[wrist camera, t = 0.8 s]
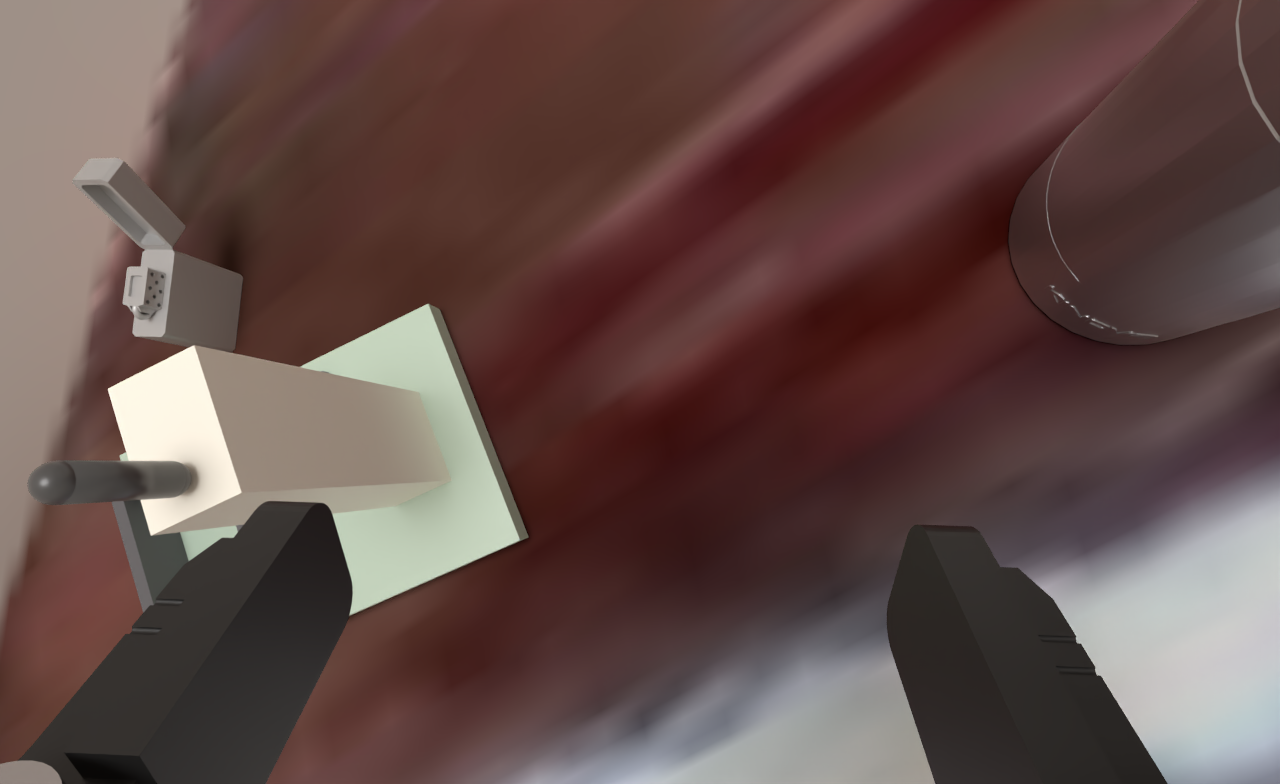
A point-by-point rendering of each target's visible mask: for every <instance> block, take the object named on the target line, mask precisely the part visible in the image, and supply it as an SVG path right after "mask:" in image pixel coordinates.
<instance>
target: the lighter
mask: <svg viewBox="0 0 1280 784" xmlns="http://www.w3.org/2000/svg"><path fill="white" fill-rule="evenodd" d="M73 184H74V185H75V186H76V187H77V188H78V189H80V191H81V192H83V193H84V194H85V195H86V196H87V197H88V198H89V199H90V200H91V201H92V202H93V203H94V204H95V205H96V206H97V207H98V208H99V209H101V210H102V211H103V212H104V213H105V214H106V215H107V216H108V217H109V218H110V219H111V220H112V221H113V222H114V223H115V224H116V225H117V226H118V227H120V228H121V229H122V230H123V231H124V232H125V233H126V234H127V235H128V236H129V237H130V238H131V239H132V240H133V241H134V242H135V243H136V244H138V245H139V246H140V247H141V248H144V249H146V250H145V251H144V252H143V253H142V261H141V267H128V268H127V274H126V282H125V290H124V298H123V304H124V305H127V306H128V307H129V309H130V310H131V312H133V314H134V316H135V317H134V324H133V332H132V333H133V334H134V335H135V336H136V337H141V338H146V339H151V340H156V341H161V342H166V343H171V344H176V345H180V346H185V347H191V346H193V345H196V346H201V347H206V348H210V349H215V350H220V351H225V352H232V351H233V350H234V349H235V345H236V336H237V327H238V319H239V310H240V301H241V292H242V283H243V277H242V276H241V274H238V273H235V272H233V271H230V270H227V269H225V268H222V267H219V266H216V265H214V264H211V263H208V262H205V261H203V260H200V259H197V258H195V257H192V256H189V255H186V254H184V253H181V252H178V251H175V250H173V247H174V245H175V244H176V242H177V241H178V239H179V238H180V236H181V234H182V233H183V231H184V230H185V227H186V226H185V225H184V224H183V223H182V222H181V221H180V220H179V219H178V218H177V217H176V216H175V214H174V213H173V212H172V211H171V210H170V209H169V208H168V207H167V206H166V205H165V204H164V203H163V202H162V201H161V200H160V199H159V198H158V196H157V195H156V194H155V193H154V192H153V191H152V190H151V189H150V188H149V187H148V186H147V185H146V184H145V183H144V182H143V181H142V180H141V178H140V177H139V176H138V175H137V174H136V173H135V172H134V171H133V170H132V169H131V168H130V167H129V166H128V165H127V164H126V163H125V162H124V161H123V160H121V159H119V158H94V159H89V160H88V161H87V163H86V164H85V165H84V166H83V168H82V169H81V170H80V171H79V173H78V174H77V175H76V176H75V178H74V179H73Z"/></svg>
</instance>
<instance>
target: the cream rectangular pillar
mask: <svg viewBox="0 0 1280 784" xmlns="http://www.w3.org/2000/svg"><path fill="white" fill-rule="evenodd" d="M108 392H109V395H110V399H111V402H112V405H113V409H114V412H115V415H116V419H117V422H118V426H119V429H120V432H121V436H122V439H123V443H124V446H125V449H126V453H127V456H128V460H129V461H51V462H47V463H44V464H42V465H41V466H39V467H37V468H36V469H35V470H34V471H33V472H32V473H31V475H30V477H29V479H28V490H29V493H30V494H31V496H32V497H33V498H34V499H36V500H37V501H39V502H41V503H44V504H48V505H65V504H81V503H98V502H114V501H131V500H141V504H142V507H143V511H144V514H145V517H146V521H147V524H148V528H149V531H150V534H151V536H153V535H161V534H169V533H177V532H186V531H194V530H202V529H211V528H219V527H227V526H236V525H244V524H245V522H246V521H247V520H248V519H249V517H250V516H251V515H252V514H253V512H254V511H255V510H256V509H257V508H258V507H259V506H260V505H261V504H262V503H264V502H267V501H288V502H317V503H324V504H326V505H327V506H328V507H329V508H330V510H331V512H332V514H335V513H343V512H352V511H360V510H368V509H377V508H385V507H393V506H397V505H399V504H402V503H404V502H406V501H408V500H410V499H412V498H415V497H417V496H419V495H421V494H423V493H426V492H428V491H430V490H432V489H434V488H437V487H439V486H441V485H443V484H445V483H448V482H450V481H452V480H451V477H450V474H449V472H448V469H447V466H446V464H445V461H444V458H443V456H442V453H441V450H440V448H439V445H438V442H437V440H436V437H435V434H434V432H433V429H432V426H431V424H430V421H429V418H428V416H427V413H426V411H425V408H424V405H423V403H422V400H421V397H420V395H419V392H416V391H411V390H406V389H401V388H396V387H392V386H387V385H382V384H377V383H373V382H368V381H363V380H358V379H354V378H349V377H344V376H339V375H334V374H330V373H325V372H320V371H315V370H311V369H306V368H301V367H296V366H292V365H287V364H282V363H277V362H272V361H268V360H263V359H258V358H253V357H249V356H244V355H239V354H234V353H229V352H225V351H220V350H215V349H210V348H206V347H201V346H196V345H193V346H191V347H189V348H187V349H186V350H184V351H182V352H180V353H178V354H176V355H174V356H172V357H170V358H168V359H166V360H164V361H162V362H160V363H158V364H156V365H154V366H152V367H150V368H148V369H146V370H144V371H142V372H140V373H138V374H136V375H134V376H132V377H130V378H128V379H126V380H124V381H122V382H120V383H118V384H116V385H114V386H113V387H111V388H109V389H108Z"/></svg>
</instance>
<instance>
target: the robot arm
mask: <svg viewBox="0 0 1280 784" xmlns="http://www.w3.org/2000/svg"><path fill="white" fill-rule="evenodd" d="M1008 242H1009V249H1010V255H1011V261H1012V265H1013V267H1014V270H1015V272H1016V275H1017V277H1018V279H1019V282H1020V284H1021V286H1022V287H1023V288H1024V290H1025V291H1026V293H1027V294H1028V296H1029V297H1030V298H1031V300H1032V301H1033V303H1034V304H1035V305H1036V306H1037V307H1039V308H1040V309H1041V310H1042V311H1043V312H1044V313H1045V314H1046V315H1047V316H1048V317H1049V318H1050V319H1052V320H1053V321H1055V322H1057V323H1058V324H1060V325H1061V326H1063V327H1065V328H1066V329H1068V330H1070V331H1071V332H1073V333H1076V334H1079V335H1082V336H1084V337H1087V338H1090V339H1092V340H1095V341H1100V342H1106V343H1112V344H1118V345H1147V344H1152V343H1157V342H1161V341H1166V340H1171V339H1175V338H1178V337H1181V336H1185V335H1188V334H1192V333H1195V332H1198V331H1202V330H1205V329H1208V328H1212V327H1215V326H1219V325H1222V324H1225V323H1229V322H1233V321H1237V320H1240V319H1244V318H1247V317H1250V316H1254V315H1257V314H1260V313H1264V312H1267V311H1271V310H1274V309H1277V308H1280V0H1199V1H1198V2H1197V3H1196V4H1195V5H1194V6H1193V7H1192V8H1191V9H1190V10H1189V11H1188V12H1187V13H1186V14H1185V15H1184V17H1183V18H1182V19H1181V20H1180V21H1179V22H1178V23H1177V24H1176V25H1175V26H1174V27H1173V28H1172V29H1171V30H1170V31H1169V32H1168V33H1167V34H1166V35H1165V36H1164V37H1163V38H1162V39H1161V41H1160V42H1159V43H1158V44H1157V45H1156V46H1155V47H1154V48H1153V49H1152V50H1151V51H1150V52H1149V53H1148V54H1147V55H1146V56H1145V57H1144V58H1143V59H1142V60H1141V61H1140V62H1139V63H1138V65H1137V66H1136V67H1135V68H1134V69H1133V70H1132V71H1131V72H1130V73H1129V74H1128V75H1127V76H1126V77H1125V78H1124V79H1123V80H1122V81H1121V82H1120V83H1119V84H1118V85H1117V86H1116V87H1115V88H1114V90H1113V91H1112V92H1111V93H1110V94H1109V95H1108V96H1107V97H1106V98H1105V99H1104V100H1103V101H1102V102H1101V103H1100V104H1099V105H1098V106H1097V107H1096V108H1095V109H1094V110H1093V111H1092V112H1091V114H1090V115H1089V116H1088V117H1087V118H1086V119H1085V120H1084V121H1083V122H1082V123H1081V124H1079V125H1078V126H1077V127H1076V129H1075V130H1074V131H1073V132H1072V133H1071V134H1070V135H1069V136H1068V137H1067V138H1066V139H1065V140H1064V141H1063V142H1062V143H1061V144H1060V146H1059V147H1058V148H1057V149H1056V150H1055V151H1054V152H1053V153H1052V154H1051V155H1050V156H1049V157H1048V158H1047V159H1046V160H1045V162H1044V163H1043V164H1042V165H1041V166H1040V167H1039V168H1038V169H1037V170H1036V171H1035V172H1034V173H1033V174H1032V175H1031V177H1030V178H1029V179H1028V180H1027V182H1026V183H1025V185H1024V187H1023V189H1022V190H1021V192H1020V194H1019V195H1018V197H1017V199H1016V202H1015V205H1014V208H1013V212H1012V215H1011V218H1010V226H1009V239H1008ZM352 597H353V586H352V580H351V576H350V572H349V569H348V566H347V562H346V559H345V555H344V552H343V549H342V545H341V542H340V538H339V535H338V532H337V528H336V525H335V521H334V518H333V515H332V512H331V510H330V508H329V507H328V506H327V505H326V504H324V503H317V502H288V501H267V502H264V503H262V504H261V505H260V506H259V507H258V508H257V509H256V510H255V511H254V512H253V514H252V515H251V516H250V517H249V519H248V520H247V521H246V522H245V524H244V525H243V526H242V527H241V529H240V530H239V531H238V533H237V534H236V535H235V536H234V538H221V539H219V540H218V541H217V542H215V543H214V544H212V545H211V546H210V547H208V548H207V549H205V550H204V551H203V552H201V553H200V554H198V555H197V556H196V557H194V558H193V559H191V560H190V561H189V562H187V563H186V564H184V565H183V566H182V567H181V569H180V570H179V571H178V572H177V573H176V575H175V576H174V577H173V578H172V579H171V581H170V582H169V583H168V584H167V585H166V587H165V588H164V589H163V590H162V591H161V592H160V594H159V595H158V596H157V597H156V602H155V604H154V605H150V606H149V607H148V608H147V609H146V610H145V612H144V613H143V614H142V615H141V616H140V618H139V619H138V620H137V621H136V622H135V623H134V625H133V626H132V632H131V633H130V634H125V635H124V637H123V638H122V639H121V640H120V641H119V643H118V644H117V645H116V646H115V647H114V649H113V650H112V651H111V652H110V653H109V654H108V656H107V657H106V658H105V659H104V660H103V662H102V663H101V664H100V665H99V666H98V668H97V669H96V670H95V671H94V672H93V674H92V675H91V676H90V677H89V678H88V679H87V681H86V682H85V683H84V684H83V685H82V687H81V688H80V689H79V690H78V691H77V693H76V694H75V695H74V696H73V697H72V699H71V700H70V701H69V702H68V703H67V705H66V706H65V707H64V708H63V709H62V710H61V712H60V713H59V714H58V715H57V716H56V718H55V719H54V720H53V721H52V722H51V724H50V725H49V726H48V727H47V728H46V730H45V731H44V732H43V733H42V734H41V736H40V737H39V738H38V739H37V740H36V741H35V743H34V744H33V745H32V746H31V747H30V748H29V749H28V750H27V752H26V753H25V754H24V755H23V756H22V757H21V758H20V759H19V760H18V761H14V762H7V763H3V764H0V784H265V783H266V781H267V780H268V778H269V776H270V774H271V772H272V770H273V768H274V766H275V764H276V762H277V760H278V758H279V756H280V754H281V752H282V750H283V748H284V746H285V744H286V742H287V740H288V738H289V736H290V734H291V732H292V730H293V728H294V726H295V724H296V722H297V720H298V718H299V716H300V714H301V712H302V711H303V709H304V707H305V705H306V703H307V701H308V699H309V697H310V695H311V693H312V691H313V689H314V687H315V685H316V683H317V681H318V679H319V677H320V675H321V673H322V671H323V669H324V667H325V665H326V663H327V661H328V659H329V657H330V655H331V653H332V651H333V649H334V647H335V645H336V643H337V642H338V640H339V638H340V636H341V634H342V632H343V630H344V628H345V625H346V623H347V621H348V618H349V614H350V610H351V605H352ZM887 630H888V638H889V643H890V647H891V651H892V654H893V657H894V660H895V663H896V666H897V669H898V672H899V675H900V678H901V681H902V684H903V687H904V690H905V693H906V696H907V699H908V702H909V705H910V708H911V711H912V714H913V717H914V720H915V723H916V726H917V729H918V732H919V735H920V738H921V741H922V745H923V748H924V751H925V754H926V757H927V760H928V763H929V766H930V769H931V772H932V775H933V778H934V781H935V784H1167V782H1166V780H1165V779H1164V777H1163V776H1162V774H1161V772H1160V771H1159V769H1158V767H1157V766H1156V764H1155V763H1154V761H1153V759H1152V758H1151V756H1150V755H1149V753H1148V751H1147V750H1146V748H1145V747H1144V745H1143V743H1142V742H1141V740H1140V738H1139V737H1138V735H1137V734H1136V732H1135V730H1134V729H1133V727H1132V726H1131V724H1130V722H1129V721H1128V719H1127V718H1126V716H1125V714H1124V713H1123V711H1122V710H1121V708H1120V706H1119V705H1118V703H1117V701H1116V700H1115V698H1114V697H1113V695H1112V693H1111V692H1110V690H1109V689H1108V687H1107V685H1106V684H1105V682H1104V681H1103V679H1102V677H1101V676H1097V675H1096V673H1095V666H1094V664H1093V663H1092V661H1091V660H1090V658H1089V656H1088V655H1087V653H1086V652H1085V650H1084V648H1083V647H1082V645H1081V644H1077V642H1076V635H1075V634H1074V632H1073V631H1072V629H1071V627H1070V626H1069V624H1068V623H1067V621H1066V619H1065V618H1064V616H1063V614H1062V613H1061V611H1060V610H1059V608H1058V606H1057V605H1056V603H1055V602H1054V600H1053V599H1052V598H1051V597H1050V596H1049V595H1048V594H1046V593H1045V592H1044V591H1043V590H1042V589H1041V588H1040V587H1039V586H1037V585H1036V584H1035V583H1034V582H1033V581H1032V580H1031V579H1030V578H1028V577H1027V576H1026V575H1025V574H1024V573H1023V572H1022V571H1021V570H1020V569H1018V568H1004V567H999V565H998V563H997V561H996V559H995V558H994V556H993V554H992V552H991V551H990V549H989V547H988V545H987V543H986V542H985V540H984V538H983V537H982V535H981V533H980V532H979V531H978V530H977V529H975V528H974V527H967V526H937V525H914V526H913V527H912V528H911V529H910V531H909V533H908V536H907V539H906V542H905V546H904V549H903V553H902V556H901V560H900V563H899V567H898V570H897V574H896V577H895V581H894V584H893V588H892V591H891V595H890V598H889V602H888V608H887Z"/></svg>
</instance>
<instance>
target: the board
mask: <svg viewBox="0 0 1280 784" xmlns="http://www.w3.org/2000/svg"><path fill="white" fill-rule="evenodd" d="M301 368H306V369H311V370H315V371H320V372H325V373H330V374H334V375H339V376H344V377H349V378H354V379H358V380H363V381H368V382H373V383H377V384H382V385H387V386H392V387H396V388H401V389H406V390H411V391H416V392H419V395H420V397H421V400H422V403H423V405H424V408H425V411H426V413H427V416H428V418H429V421H430V424H431V426H432V429H433V432H434V434H435V437H436V440H437V442H438V445H439V448H440V450H441V453H442V456H443V458H444V461H445V464H446V466H447V469H448V472H449V474H450V477H451V480H452V481H450V482H448V483H445V484H443V485H441V486H439V487H437V488H434V489H432V490H430V491H428V492H426V493H423V494H421V495H419V496H417V497H415V498H412V499H410V500H408V501H406V502H404V503H402V504H399V505H397V506H393V507H385V508H377V509H368V510H360V511H352V512H343V513H335V514H332V515H333V518H334V521H335V525H336V528H337V532H338V535H339V538H340V542H341V545H342V549H343V552H344V555H345V559H346V562H347V566H348V569H349V572H350V576H351V580H352V586H353V597H352V605H351V610H350V614H349V616H351V615H353V614H356V613H358V612H360V611H362V610H365V609H367V608H369V607H371V606H374V605H376V604H378V603H381V602H383V601H385V600H387V599H390V598H392V597H394V596H396V595H399V594H401V593H403V592H406V591H408V590H410V589H412V588H415V587H417V586H419V585H421V584H424V583H426V582H428V581H431V580H433V579H435V578H437V577H440V576H442V575H444V574H447V573H449V572H451V571H453V570H456V569H458V568H460V567H462V566H465V565H467V564H469V563H472V562H474V561H476V560H478V559H481V558H483V557H485V556H487V555H490V554H492V553H494V552H497V551H499V550H501V549H503V548H506V547H508V546H510V545H512V544H515V543H517V542H519V541H522V540H524V539H526V538H528V534H527V531H526V529H525V526H524V524H523V521H522V519H521V516H520V514H519V511H518V508H517V506H516V503H515V501H514V498H513V496H512V493H511V491H510V488H509V485H508V483H507V480H506V478H505V475H504V473H503V470H502V467H501V465H500V462H499V460H498V457H497V455H496V452H495V450H494V447H493V444H492V442H491V439H490V437H489V434H488V432H487V429H486V427H485V424H484V421H483V419H482V416H481V414H480V411H479V409H478V406H477V403H476V401H475V398H474V396H473V393H472V391H471V388H470V386H469V383H468V380H467V378H466V375H465V373H464V370H463V368H462V365H461V363H460V360H459V357H458V355H457V352H456V350H455V347H454V345H453V342H452V339H451V337H450V334H449V332H448V329H447V327H446V324H445V322H444V319H443V316H442V314H441V311H440V309H438V308H436V307H434V306H432V305H430V304H427V305H425V306H423V307H421V308H419V309H416V310H414V311H412V312H410V313H408V314H406V315H404V316H402V317H400V318H398V319H396V320H394V321H392V322H390V323H388V324H386V325H384V326H382V327H380V328H378V329H376V330H374V331H372V332H370V333H368V334H366V335H364V336H362V337H360V338H358V339H356V340H353V341H351V342H349V343H347V344H345V345H343V346H341V347H339V348H337V349H335V350H333V351H331V352H329V353H327V354H325V355H323V356H321V357H319V358H317V359H315V360H313V361H311V362H309V363H307V364H305V365H303V366H301ZM120 459H121V461H129V460H128V456H127V453H124V454H122V455H120ZM112 505H113V508H114V512H115V515H116V519H117V522H118V526H119V529H120V533H121V536H122V540H123V543H124V547H125V550H126V554H127V557H128V561H129V564H130V568H131V571H132V575H133V578H134V581H135V585H136V588H137V592H138V595H139V599H140V602H141V606H142V609H143V613H144V612H145V610H146V609H147V608H148V607H149V606H150V605H154V604H155V602H156V597H157V596H158V595H159V594H160V592H161V591H162V590H163V589H164V588H165V587H166V585H167V584H168V583H169V582H170V581H171V579H172V578H173V577H174V576H175V575H176V573H177V572H178V571H179V570H180V569H181V567H182V566H183V565H184V564H186V563H187V562H189V561H190V560H191V559H193V558H194V557H196V556H197V555H198V554H200V553H201V552H203V551H204V550H205V549H207V548H208V547H210V546H211V545H212V544H214V543H215V542H217V541H218V540H219V539H221V538H234V536H235V535H236V534H237V533H238V531H239V530H240V529H241V527H242V526H243V525H236V526H227V527H219V528H211V529H202V530H194V531H186V532H177V533H169V534H161V535H153V536H151V534H150V531H149V528H148V524H147V521H146V517H145V514H144V511H143V507H142V504H141V500H131V501H114V502H112Z"/></svg>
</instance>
